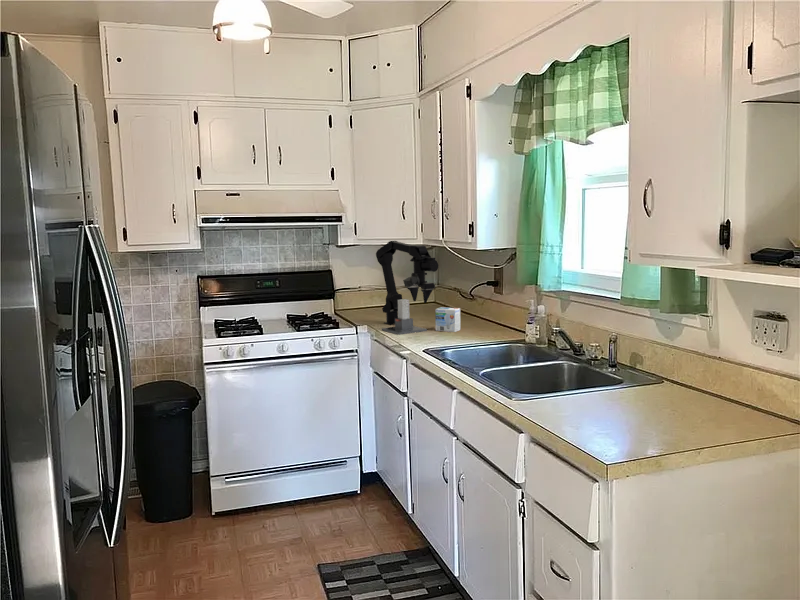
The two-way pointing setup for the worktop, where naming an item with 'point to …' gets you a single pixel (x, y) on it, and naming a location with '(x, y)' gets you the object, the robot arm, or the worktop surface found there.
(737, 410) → the worktop surface
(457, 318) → the light bulb box
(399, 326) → the stand
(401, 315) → the column
